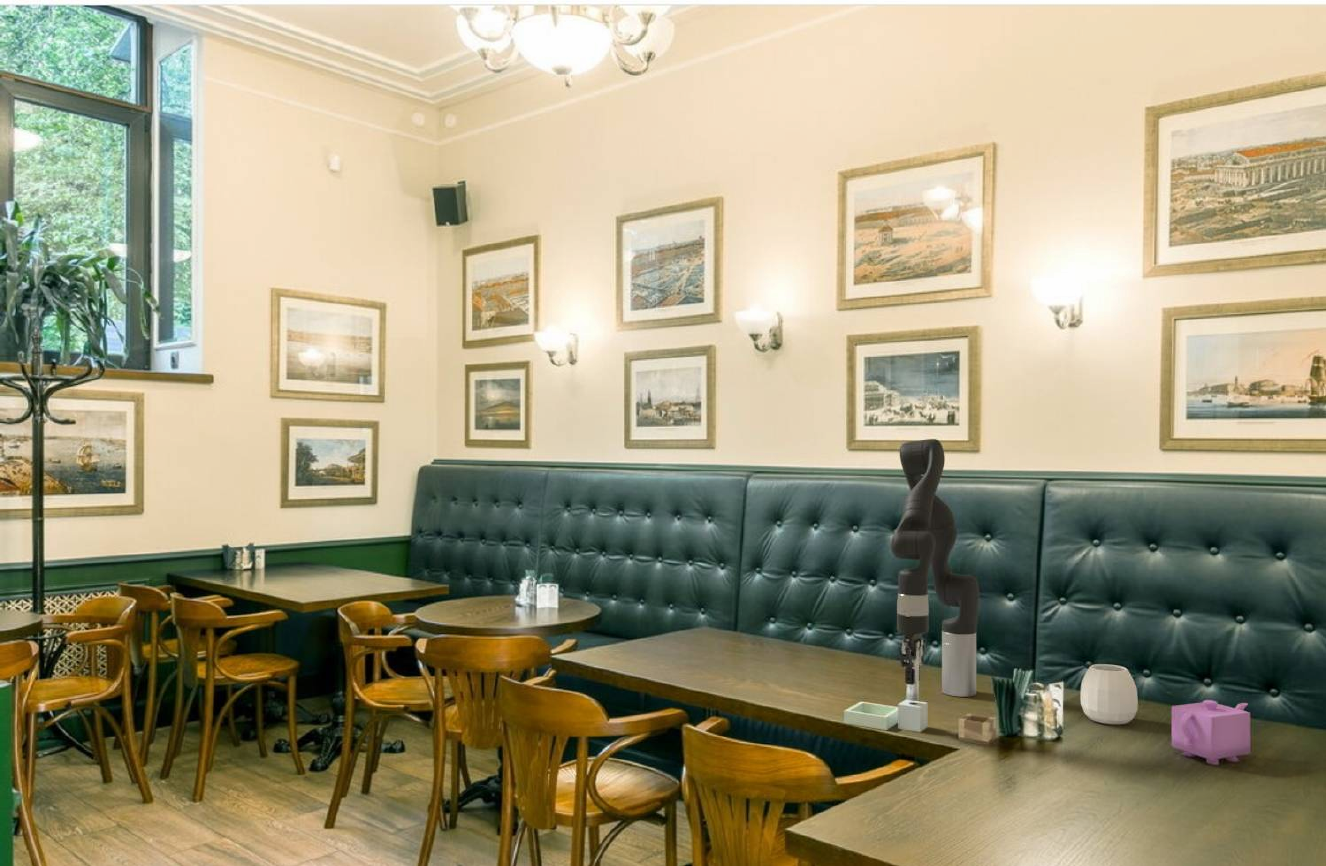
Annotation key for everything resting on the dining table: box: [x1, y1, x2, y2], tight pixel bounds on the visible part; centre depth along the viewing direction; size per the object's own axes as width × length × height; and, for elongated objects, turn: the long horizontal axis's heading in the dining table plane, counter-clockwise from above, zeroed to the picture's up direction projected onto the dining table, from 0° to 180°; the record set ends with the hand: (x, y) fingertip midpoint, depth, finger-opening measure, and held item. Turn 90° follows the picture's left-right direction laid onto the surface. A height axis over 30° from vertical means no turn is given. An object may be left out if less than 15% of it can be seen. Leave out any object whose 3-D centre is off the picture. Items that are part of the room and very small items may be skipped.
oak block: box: [958, 713, 997, 746], centre depth 235 cm, size 7×7×5 cm
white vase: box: [1080, 663, 1139, 725], centre depth 251 cm, size 13×13×14 cm
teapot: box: [1171, 699, 1251, 766], centre depth 223 cm, size 20×10×12 cm, turn 112°
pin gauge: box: [905, 650, 920, 701], centre depth 245 cm, size 3×3×12 cm
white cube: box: [897, 699, 929, 733], centre depth 244 cm, size 6×6×6 cm
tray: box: [843, 701, 898, 731], centre depth 249 cm, size 11×11×3 cm
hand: (912, 682), depth 245 cm, fingers closed on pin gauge, 3 cm apart
